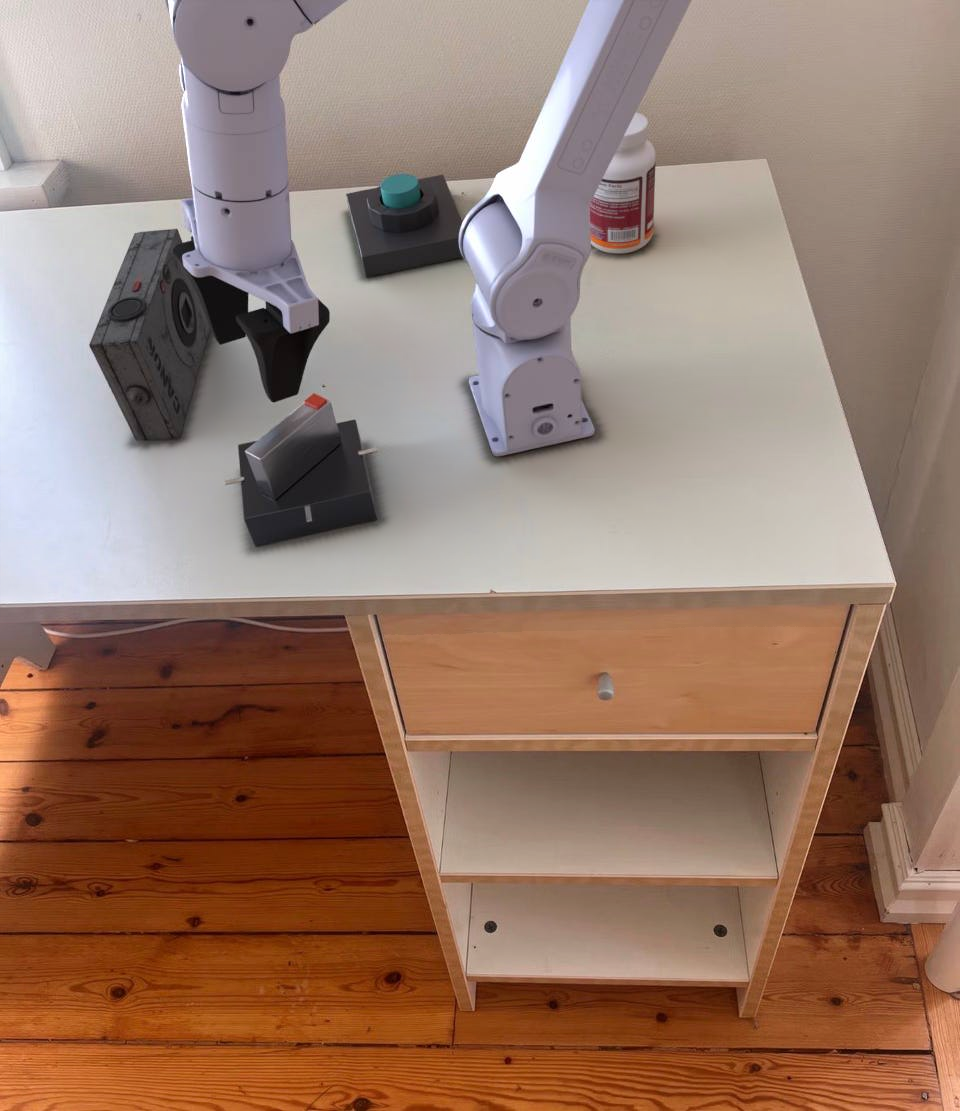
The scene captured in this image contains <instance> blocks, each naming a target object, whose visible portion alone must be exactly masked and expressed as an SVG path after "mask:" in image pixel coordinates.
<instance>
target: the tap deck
mask: <svg viewBox="0 0 960 1111" xmlns="http://www.w3.org/2000/svg"><path fill="white" fill-rule="evenodd" d="M336 423H337V426H338V430H339V434H340V437H341V441H342V442H341V443H340V444H339V445H338V446H337V447H336V448H335V449H333V450H332V451H331V452H330V453H329V454H328V455H327V456H325V457H324V458H323V459H322V460H321V461H320V462H318V463H317V464H316V465H315V466H314V467H313V468H312V469H310V470H309V471H308V472H307V473H306V474H305V475H303V476H302V477H301V478H300V479H299V480H298V481H297V482H295V483H294V484H293V485H292V486H291V487H290V488H288V489H287V490H286V491H285V492H284V493H283V494H282V495H280V496H279V497H278V498H277V499H276V500H274V499H273V498H271V497H269V496H267V495H266V494H264V493H262V492H260V490H259V487H258V485H257V482H256V479H255V477H254V474H253V471H252V469H251V466H250V464H249V461H248V458H247V456H246V453H245V450H247V449H248V448H249V447H250V446H251V445H253V444H254V443H255V442H256V441H258V440H259V439H257V440H253V441H248V442H244V443H239V444H238V445H237V449H238V461H239V462H238V463H239V474H240V477H235V478H231V479H226V480H224V485H225V486H229V485H234V484H238V483H239V484H240V486H241V488H240V489H241V500H242V512H243V520H244V523H245V526H246V528H247V531H248V533H249V535H250V537H251V540H252V542H253V545H254V547H255V548H258V547H262V546H266V545H267V546H268V545H271V544H276V543H281V542H285V541H290V540H294V539H298V538H303V537H306V536H307V537H308V536H313V535H316V534H320V533H324V532H329V531H333V530H334V531H335V530H339V529H343V528H348V527H352V526H356V525H361V524H366V523H369V522H374V521H378V515H377V509H376V505H375V499H374V495H373V491H372V485H371V481H370V480H371V479H370V476H369V475H370V474H369V471H368V465H367V461H366V455H370V454H376V453H378V447H377V446H376V447H371V448H367V449H364V447H363V442H362V439H361V435H360V430H359V427H358V423H357V419H349V420H346V421H342V422H341V421H340V422H336Z"/></svg>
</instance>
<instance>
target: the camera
mask: <svg viewBox="0 0 960 1111" xmlns="http://www.w3.org/2000/svg"><path fill="white" fill-rule="evenodd" d="M180 243H183V240H182V237H181V235H180V231H179V229H178V228H171V229H170V228H169V229H157V230H147V231H138V232H135V233H133V235H132V239H131V241H130V243H129V246H128V249H127V250H126V253H125V256H124V258H123V260H122V263H121V265H120V267H119V270H118V272H117V274H116V277H115V280H114V282H113V284H112V288H111V290H110V292H109V294H108V297H107V300H106V303H105V304H104V306H103V308H102V312H101V315H100V317H99V320H98V322H97V324H96V327H95V329H94V332H93V335H92V336H91V339H90V342H89V344H88V346H89V348H90V350H91V352H92V354H93V357H94V358H95V360H96V362H97V364H98V367H99V368H100V371H101V372H102V374H103V376H104V378H105V381H106V382H107V385H108V388H109V389H110V391H111V393H112V395H113V396H114V399H115V401H116V403H117V405H118V407H119V409H120V411H121V414H122V415H123V418H124V419H125V422H126V424H127V426H128V427H129V430H130V431H131V433H132V436H133V438H134V440H135V442H139V441H140V442H142V441H143V442H144V441H156V440H167V439H168V440H170V439H180V438H181V436H182V433H183V429H184V426H185V421H186V418H187V415H188V411H189V407H190V404H191V400H192V397H193V393H194V389H195V386H196V381H197V378H198V374H199V371H200V366H201V362H202V359H203V356H204V352H205V349H206V345H207V342H208V338H209V335H210V331H211V329H210V326H209V323H208V321H207V318H206V315H205V313H204V310H203V307H202V305H201V302H200V300H199V297H198V295H197V293H196V291H195V289H194V287H193V285H192V283H191V281H190V279H189V277H188V276H187V274H186V272H185V271H184V269H183V268H182V266H181V265H180V263H179V262H178V261H177V259H176V258H175V257H174V255H173V253H172V249H173V247H174V246H176V245H177V244H180Z"/></svg>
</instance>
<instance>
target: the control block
mask: <svg viewBox="0 0 960 1111" xmlns="http://www.w3.org/2000/svg"><path fill="white" fill-rule="evenodd" d="M417 179H418V178H417ZM418 182H419V189H420V196H421V199H420V202H418V203H416V204H414V205H412V206H410V207H405V208H400V209H398V208H388V207H386V206H385V205H384V203H383V198H382V193H381V187H380V186H381V185H379V186H377V187H373V188H369V189H363V190H358V191H354V192H349V193H345V198H346V202H347V206H348V212H349V216H350V219H351V223H352V227H353V231H354V235H355V240H356V243H357V247H358V252H359V255H360V260H361V264H362V266H363V267H362V268H363V270H364V275H365V277H366V278H371V277H375V276H380V275H385V274H386V275H387V274H390V273H395V272H401V271H405V270H409V269H410V270H411V269H414V268H420V267H424V266H428V265H435V264H438V263H444V262H448V261H453V260H459V259H464V258H463V257H462V255H461V252H460V248H459V232H460V228H461V225H462V223H463V220H462V217H461V215H460V213H459V210H458V209H457V206H456V203H455V201H454V197H453V195H452V192H451V190H450V188H449V186H448V183H447V181H446V177H445V176H444V174H439V175H433V176H429V177H428V176H427V177H423V178H419V179H418Z"/></svg>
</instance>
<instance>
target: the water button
mask: <svg viewBox="0 0 960 1111" xmlns="http://www.w3.org/2000/svg"><path fill="white" fill-rule="evenodd" d="M379 186H380V187H381V193H382V198H383V203H384V205H385V206H386V207H388V208H398V209H400V208H405V207H410V206H412V205H414V204H416V203H418V202H420V199H421V196H420V189H419V182H418V178H417V177H416V176H415V175H412V174H409V173H397V174H392V175H390V176H388V177H386V178H384V179H383V180H382V181H381V183H380V185H379Z"/></svg>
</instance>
